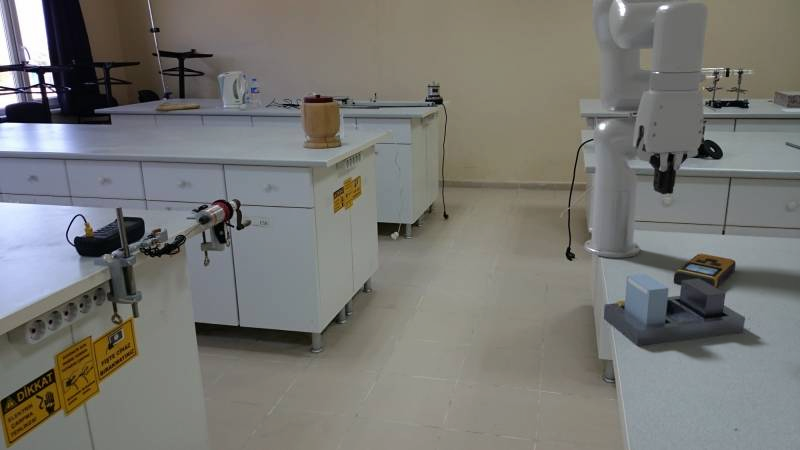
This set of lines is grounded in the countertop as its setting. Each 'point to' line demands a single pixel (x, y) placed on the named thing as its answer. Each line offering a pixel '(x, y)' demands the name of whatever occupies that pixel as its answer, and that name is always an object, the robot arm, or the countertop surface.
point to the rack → (681, 316)
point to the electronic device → (706, 269)
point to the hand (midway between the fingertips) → (663, 191)
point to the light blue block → (646, 299)
